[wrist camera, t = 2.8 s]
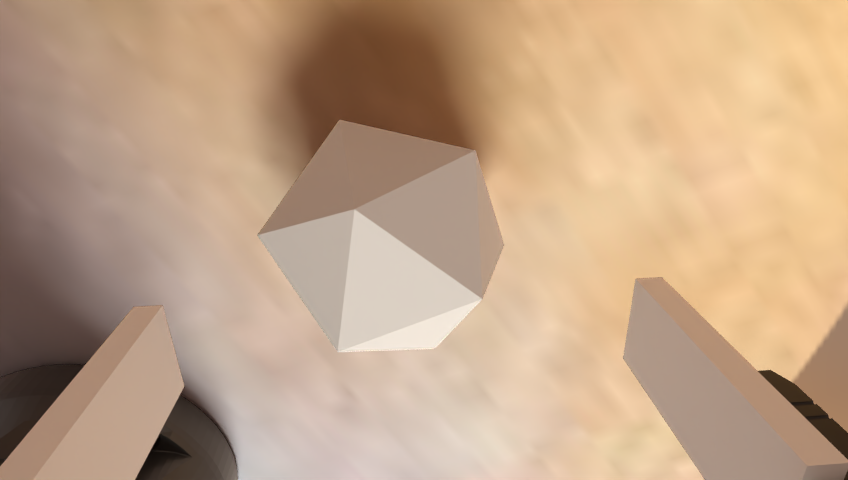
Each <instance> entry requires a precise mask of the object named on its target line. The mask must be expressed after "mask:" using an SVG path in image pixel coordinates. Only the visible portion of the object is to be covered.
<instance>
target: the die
mask: <svg viewBox="0 0 848 480" xmlns="http://www.w3.org/2000/svg"><path fill="white" fill-rule="evenodd" d="M257 236H258V237H259V239H260V240H261V242H262V243H263V244H264V246H265V247H266V249H267V250H268V252H269V253H270V255H271V256H272V257H273V259H274V260H275V262H276V263H277V265H278V266H279V268H280V269H281V271H282V272H283V273H284V275H285V276H286V278H287V279H288V281H289V282H290V284H291V285H292V287H293V288H294V289H295V291H296V292H297V294H298V295H299V297H300V298H301V300H302V301H303V303H304V304H305V305H306V307H307V308H308V310H309V311H310V313H311V314H312V316H313V317H314V318H315V320H316V321H317V323H318V324H319V326H320V327H321V329H322V330H323V332H324V333H325V334H326V336H327V337H328V339H329V340H330V342H331V343H332V345H333V346H334V348H335V349H336V350H337V352H355V351H384V350H412V349H435V348H436V347H437V346H438V345H439V344H440V343H441V342H442V341H443V340H444V339H445V338H446V337H447V335H448V334H449V333H450V332H451V331H452V330H453V329H454V328H455V327H456V326H457V325H458V324H459V323H460V322H461V321H462V320H463V319H464V318H465V317H466V316H467V315H468V314H469V313H470V311H471V310H472V309H473V308H474V307H475V306H476V305H477V304H478V303H479V302H480V301H481V300H482V299H483V296H484V294H485V291H486V289H487V286H488V284H489V281H490V279H491V276H492V274H493V271H494V269H495V266H496V264H497V261H498V259H499V256H500V254H501V251H502V249H503V246H504V243H503V240H502V236H501V233H500V230H499V226H498V223H497V220H496V216H495V213H494V210H493V206H492V203H491V200H490V197H489V193H488V190H487V187H486V183H485V180H484V177H483V173H482V170H481V167H480V163H479V160H478V157H477V154H476V150H472V149H468V148H463V147H459V146H454V145H450V144H446V143H441V142H437V141H432V140H428V139H424V138H419V137H415V136H410V135H406V134H402V133H397V132H393V131H388V130H384V129H379V128H375V127H371V126H366V125H362V124H357V123H353V122H349V121H344V120H340V119H339V121H338V122H337V124H336V125H335V127H334V128H333V129H332V131H331V132H330V134H329V135H328V136H327V138H326V139H325V141H324V142H323V143H322V145H321V146H320V148H319V149H318V150H317V152H316V153H315V155H314V156H313V157H312V159H311V160H310V162H309V163H308V164H307V166H306V167H305V169H304V170H303V172H302V173H301V174H300V176H299V177H298V179H297V180H296V181H295V183H294V184H293V186H292V187H291V188H290V190H289V191H288V193H287V194H286V195H285V197H284V198H283V200H282V201H281V202H280V204H279V205H278V207H277V208H276V210H275V211H274V212H273V214H272V215H271V217H270V218H269V219H268V221H267V222H266V224H265V225H264V226H263V228H262V229H261V231H260V232H259V233H258V235H257Z"/></svg>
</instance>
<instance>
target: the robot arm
mask: <svg viewBox="0 0 848 480" xmlns="http://www.w3.org/2000/svg"><path fill="white" fill-rule="evenodd" d="M623 359H624V360H625V362H626V363H627V365H628V366H629V368H630V369H631V371H632V372H633V374H634V375H635V377H636V378H637V380H638V381H639V383H640V384H641V386H642V387H643V389H644V390H645V392H646V393H647V395H648V396H649V398H650V399H651V400H652V402H653V403H654V405H655V406H656V408H657V409H658V411H659V412H660V414H661V415H662V417H663V418H664V420H665V421H666V423H667V424H668V426H669V427H670V429H671V430H672V432H673V433H674V435H675V436H676V438H677V439H678V441H679V442H680V444H681V445H682V447H683V448H684V449H685V451H686V452H687V454H688V455H689V457H690V458H691V460H692V461H693V463H694V464H695V466H696V467H697V469H698V470H699V472H700V473H701V475H702V476H703V478H704V479H705V480H848V433H847V432H846V431H845V430H844V429H843V428H842V427H841V426H840V425H839V424H838V423H836V422H835V421H834V420H833V419H829V417H828V414H827V413H826V412H825V411H823V410H822V409H821V408H820V407H819V406H818V405H817V404H816V405H815V404H814V403H813V401H812V399H810V398H809V397H808V396H807V395H806V394H805V393H804V392H803V391H802V390H801V389H800V388H799V387H798V386H796V385H795V384H794V383H792V382H790V381H789V380H787V379H785V378H783V377H782V376H780V375H778V374H777V373H775V372H773V371H771V370H765V371H757V370H756V369H755V368H754V367H753V366H752V365H751V364H750V363H749V362H748V361H747V360H746V359H745V358H744V357H743V356H742V355H741V354H740V353H739V352H738V351H737V350H736V349H735V348H734V347H733V346H732V345H730V344H729V343H728V342H727V341H726V340H725V339H724V338H723V337H722V336H721V335H720V334H719V333H718V332H717V331H716V330H715V329H714V328H713V327H712V326H711V325H710V324H709V323H708V322H707V321H706V320H705V319H704V318H703V317H702V316H701V315H700V314H699V313H698V312H697V311H696V310H695V309H694V308H693V307H692V306H691V305H690V304H689V303H688V302H687V301H686V300H685V299H684V298H683V297H682V296H681V295H680V294H679V293H678V292H677V291H676V290H675V289H673V288H672V287H671V286H670V285H669V284H668V283H667V282H666V281H665V280H664V279H663V278H662V277H657V278H639V279H636V280H635V286H634V293H633V299H632V305H631V311H630V318H629V324H628V330H627V337H626V343H625V349H624V356H623ZM183 388H184V383H183V379H182V376H181V372H180V368H179V364H178V361H177V357H176V353H175V349H174V346H173V342H172V338H171V334H170V331H169V327H168V323H167V320H166V316H165V312H164V308H163V305H158V306H140V307H133V308H132V309H131V311H130V312H129V313H128V314H127V315H126V317H125V318H124V319H123V320H122V321H121V323H120V324H119V325H118V326H117V327H116V329H115V330H114V331H113V332H112V333H111V335H110V336H109V337H108V338H107V339H106V341H105V342H104V343H103V344H102V345H101V347H100V348H99V349H98V350H97V351H96V353H95V354H94V355H93V356H92V357H91V359H90V360H89V361H88V362H87V363H86V365H68V364H67V365H50V366H42V367H35V368H30V369H26V370H22V371H18V372H15V373H12V374H9V375H6V376H4V377H1V378H0V480H238V476H237V468H236V463H235V459H234V456H233V453H232V451H231V449H230V447H229V445H228V443H227V441H226V439H225V438H224V436H223V434H222V433H221V432H220V430H219V429H218V428H217V426H216V425H215V424H214V423H213V422H212V421H211V420H210V419H209V418H208V417H207V416H206V415H205V414H204V413H203V412H202V411H201V410H200V409H199V408H197V407H196V406H195V405H194V404H192V403H191V402H190V401H188V400H187V399H185V398H184V397H182V396H181V395H180V394H181V392H182V390H183Z"/></svg>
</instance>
